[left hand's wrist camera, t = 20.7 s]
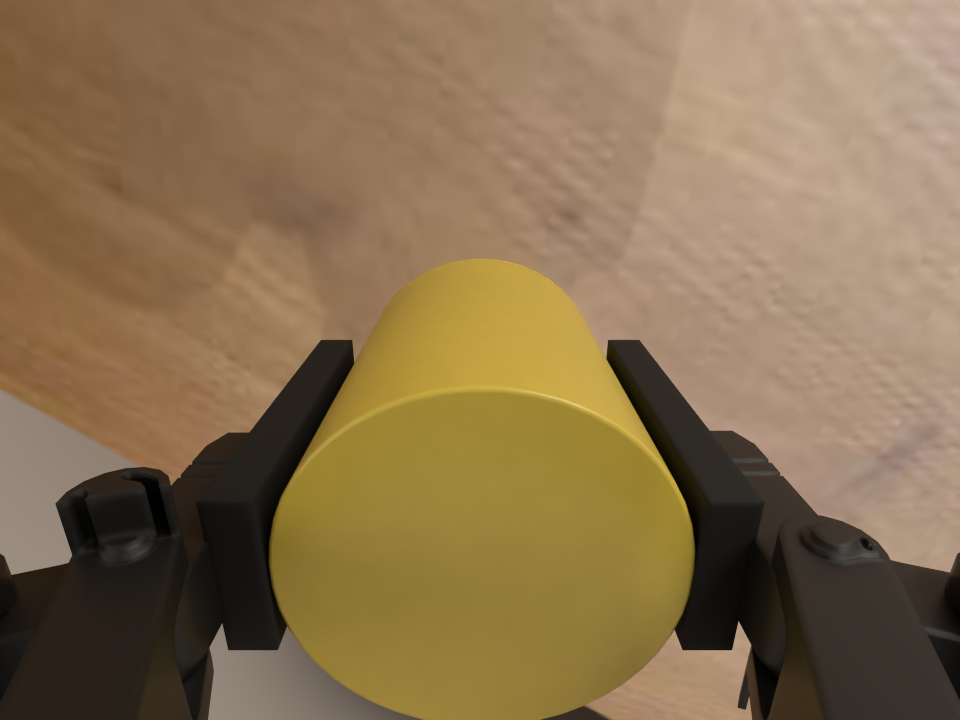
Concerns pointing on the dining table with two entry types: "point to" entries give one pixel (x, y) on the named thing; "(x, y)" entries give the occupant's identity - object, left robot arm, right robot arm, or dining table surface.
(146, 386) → the dining table surface
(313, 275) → the dining table surface
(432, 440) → the can
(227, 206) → the dining table surface
